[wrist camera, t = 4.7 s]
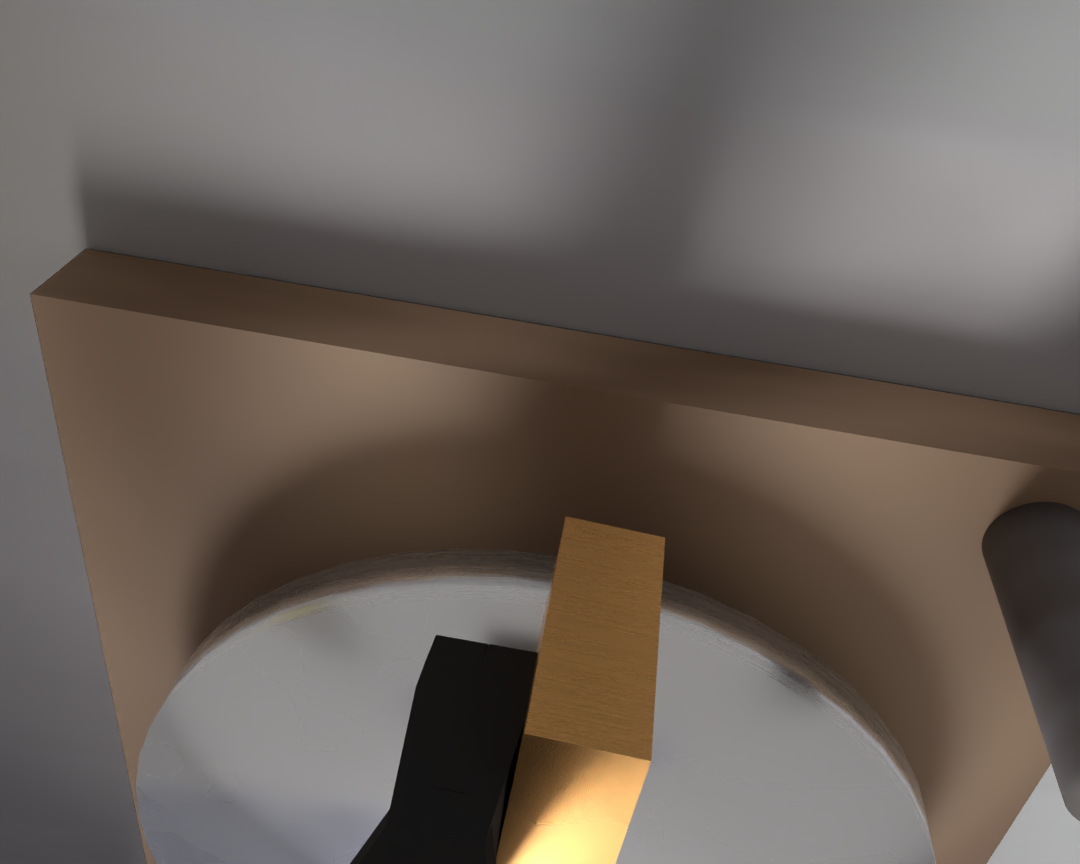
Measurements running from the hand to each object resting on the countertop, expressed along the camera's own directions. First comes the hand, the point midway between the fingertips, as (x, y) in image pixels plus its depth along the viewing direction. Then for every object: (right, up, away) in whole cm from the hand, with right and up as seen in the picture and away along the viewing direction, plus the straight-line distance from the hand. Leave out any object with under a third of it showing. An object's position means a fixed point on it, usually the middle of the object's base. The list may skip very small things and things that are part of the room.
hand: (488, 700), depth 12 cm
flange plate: (+1, -4, +5) cm, 6 cm away
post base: (+1, -2, +7) cm, 8 cm away
